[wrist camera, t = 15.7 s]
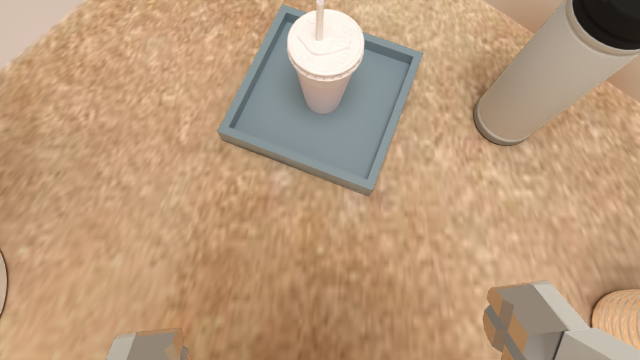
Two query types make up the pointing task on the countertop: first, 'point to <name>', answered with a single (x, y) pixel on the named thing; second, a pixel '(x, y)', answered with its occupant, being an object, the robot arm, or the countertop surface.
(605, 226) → the countertop surface
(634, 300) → the water bottle
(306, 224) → the countertop surface
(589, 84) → the travel mug
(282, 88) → the tray
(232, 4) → the countertop surface
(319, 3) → the smoothie
